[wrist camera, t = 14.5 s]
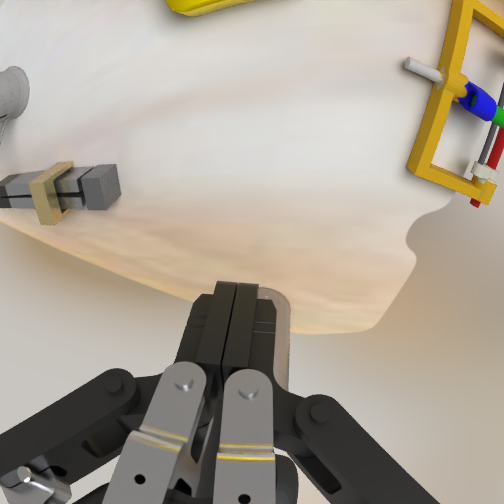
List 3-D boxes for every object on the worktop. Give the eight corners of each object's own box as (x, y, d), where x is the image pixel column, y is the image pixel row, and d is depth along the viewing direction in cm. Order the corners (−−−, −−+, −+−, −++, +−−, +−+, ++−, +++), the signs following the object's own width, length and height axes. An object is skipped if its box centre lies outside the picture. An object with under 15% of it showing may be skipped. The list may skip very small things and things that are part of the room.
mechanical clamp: (557, 28, 12) (497, 224, 30) (529, 25, 17) (476, 202, 35) (445, -58, 12) (385, 182, 30) (423, -46, 17) (370, 163, 35)
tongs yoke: (116, 164, 37) (99, 177, 34) (121, 194, 40) (106, 210, 36) (98, 164, 38) (80, 178, 34) (103, 194, 40) (87, 209, 36)
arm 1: (93, 166, 37) (76, 179, 34) (95, 178, 38) (79, 192, 35) (8, 175, 39) (-8, 187, 35) (11, 184, 40) (-5, 196, 36)
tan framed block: (72, 161, 37) (42, 182, 31) (81, 200, 41) (55, 225, 35) (57, 163, 37) (28, 183, 32) (66, 200, 41) (40, 224, 35)
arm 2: (97, 183, 39) (80, 197, 35) (99, 194, 40) (83, 209, 36) (11, 186, 40) (-5, 198, 37) (14, 195, 41) (-2, 208, 38)
